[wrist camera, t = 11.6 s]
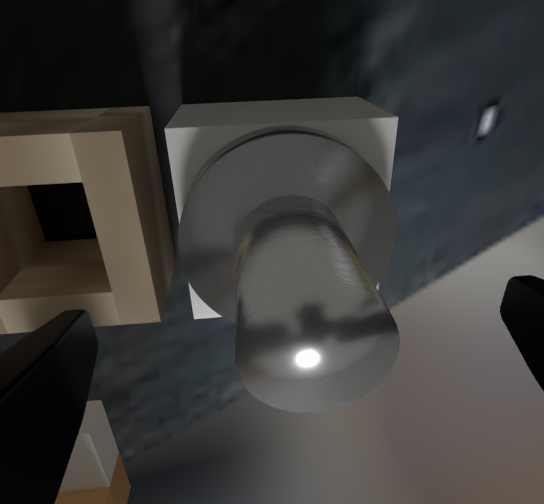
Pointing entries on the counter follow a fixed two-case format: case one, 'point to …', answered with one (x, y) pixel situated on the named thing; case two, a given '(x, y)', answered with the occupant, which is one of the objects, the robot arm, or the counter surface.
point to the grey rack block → (260, 114)
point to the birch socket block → (104, 210)
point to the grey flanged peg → (295, 264)
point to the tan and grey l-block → (94, 464)
